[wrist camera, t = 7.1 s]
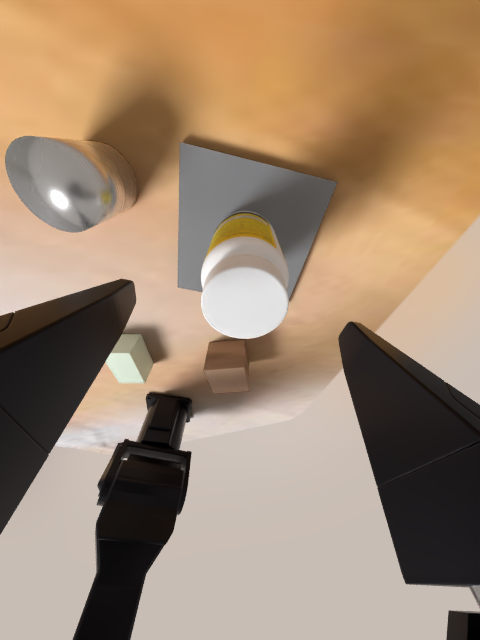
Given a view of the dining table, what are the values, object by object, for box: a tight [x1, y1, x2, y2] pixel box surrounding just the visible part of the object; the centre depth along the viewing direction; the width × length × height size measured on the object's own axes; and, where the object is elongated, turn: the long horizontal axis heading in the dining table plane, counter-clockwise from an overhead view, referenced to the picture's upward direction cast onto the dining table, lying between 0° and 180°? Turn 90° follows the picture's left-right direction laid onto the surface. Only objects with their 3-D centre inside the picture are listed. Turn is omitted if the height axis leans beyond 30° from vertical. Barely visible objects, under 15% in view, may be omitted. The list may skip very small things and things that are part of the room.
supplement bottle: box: [201, 211, 289, 339], centre depth 13 cm, size 5×5×8 cm
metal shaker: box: [5, 136, 138, 232], centre depth 12 cm, size 4×4×5 cm
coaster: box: [178, 142, 337, 299], centre depth 16 cm, size 10×10×1 cm
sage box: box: [106, 334, 154, 383], centre depth 24 cm, size 5×3×3 cm, turn 1°
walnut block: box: [204, 339, 249, 393], centre depth 23 cm, size 4×4×4 cm
